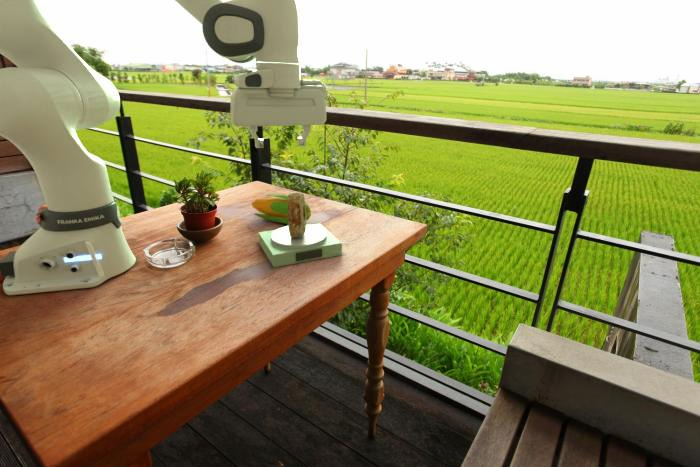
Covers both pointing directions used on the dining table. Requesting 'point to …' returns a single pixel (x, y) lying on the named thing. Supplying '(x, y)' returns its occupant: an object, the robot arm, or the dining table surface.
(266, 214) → the corn
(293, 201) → the stone disc
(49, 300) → the dining table surface
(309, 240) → the scale
